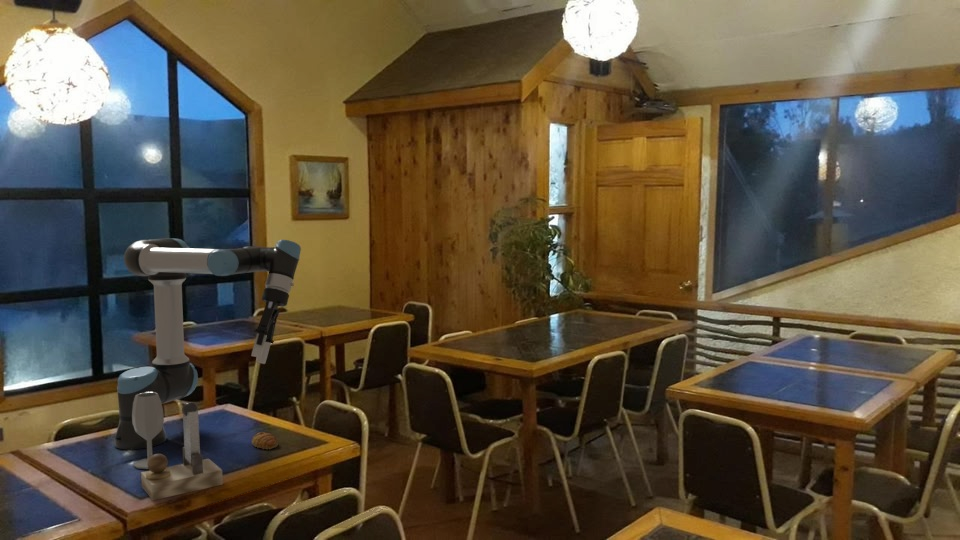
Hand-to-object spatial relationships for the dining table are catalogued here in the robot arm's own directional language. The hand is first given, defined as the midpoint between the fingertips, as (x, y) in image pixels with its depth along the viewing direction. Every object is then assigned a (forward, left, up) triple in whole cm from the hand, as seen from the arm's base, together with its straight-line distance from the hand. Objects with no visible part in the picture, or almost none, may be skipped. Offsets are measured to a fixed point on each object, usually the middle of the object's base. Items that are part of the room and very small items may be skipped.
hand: (258, 360), depth 223 cm
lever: (-15, -16, -24) cm, 33 cm away
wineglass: (-32, 0, -31) cm, 45 cm away
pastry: (-2, +15, -31) cm, 35 cm away
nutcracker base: (-17, -18, -30) cm, 39 cm away
